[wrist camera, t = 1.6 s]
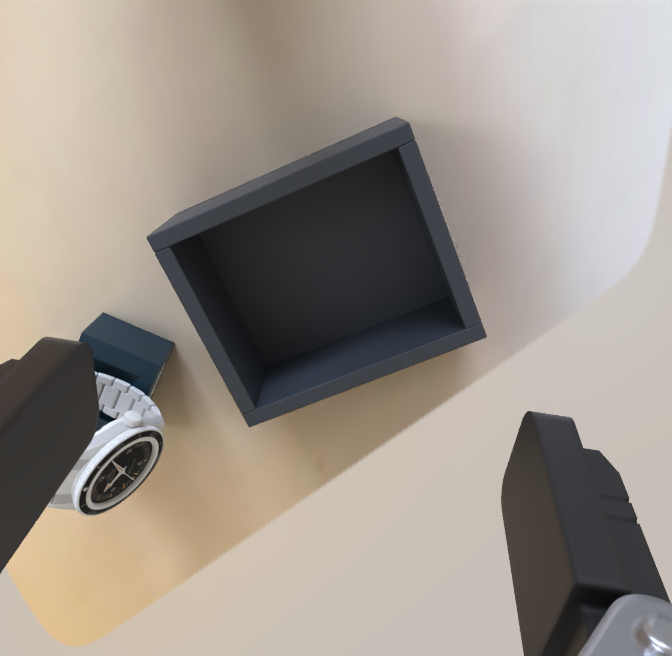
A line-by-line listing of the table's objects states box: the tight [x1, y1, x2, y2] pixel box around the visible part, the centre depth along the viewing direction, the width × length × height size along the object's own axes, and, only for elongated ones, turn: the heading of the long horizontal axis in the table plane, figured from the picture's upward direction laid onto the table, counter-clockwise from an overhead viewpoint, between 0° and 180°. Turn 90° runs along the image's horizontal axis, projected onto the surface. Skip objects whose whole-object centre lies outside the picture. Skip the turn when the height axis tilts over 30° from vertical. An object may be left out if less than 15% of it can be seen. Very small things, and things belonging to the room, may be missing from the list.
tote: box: [147, 117, 487, 427], centre depth 31 cm, size 11×13×6 cm
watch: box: [47, 313, 175, 516], centre depth 31 cm, size 6×8×11 cm
